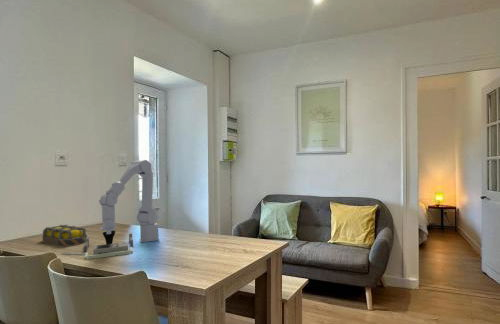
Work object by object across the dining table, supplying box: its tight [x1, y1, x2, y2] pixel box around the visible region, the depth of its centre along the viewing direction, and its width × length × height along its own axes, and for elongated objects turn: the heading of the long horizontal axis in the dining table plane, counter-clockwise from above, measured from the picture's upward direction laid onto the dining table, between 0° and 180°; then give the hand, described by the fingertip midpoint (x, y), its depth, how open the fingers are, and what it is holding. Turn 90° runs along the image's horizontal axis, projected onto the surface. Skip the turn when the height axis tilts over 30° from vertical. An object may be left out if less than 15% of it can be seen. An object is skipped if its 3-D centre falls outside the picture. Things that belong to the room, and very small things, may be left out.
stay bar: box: [61, 252, 87, 256], centre depth 150 cm, size 2×12×1 cm, turn 80°
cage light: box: [41, 224, 88, 247], centre depth 179 cm, size 15×8×30 cm
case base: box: [83, 232, 134, 253], centre depth 163 cm, size 23×13×4 cm, turn 114°
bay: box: [84, 246, 134, 260], centre depth 148 cm, size 20×9×1 cm, turn 114°
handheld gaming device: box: [92, 242, 129, 255], centre depth 151 cm, size 9×15×4 cm, turn 113°
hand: (109, 246), depth 156 cm, fingers closed
